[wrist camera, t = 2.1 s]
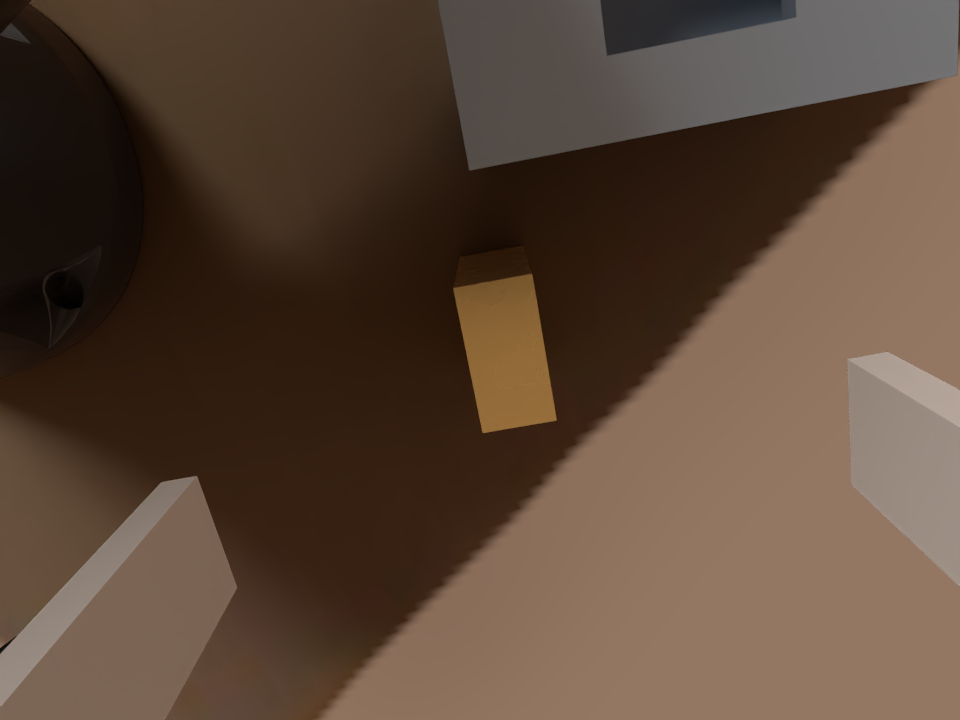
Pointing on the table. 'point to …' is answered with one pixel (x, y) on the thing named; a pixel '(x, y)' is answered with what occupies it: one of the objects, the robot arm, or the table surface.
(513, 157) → the coin box
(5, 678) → the robot arm
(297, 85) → the table surface
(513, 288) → the tan wooden block
